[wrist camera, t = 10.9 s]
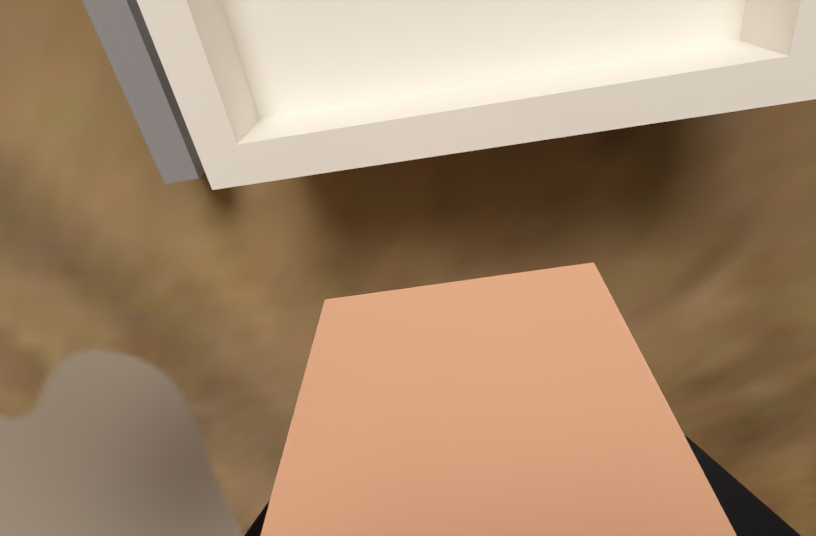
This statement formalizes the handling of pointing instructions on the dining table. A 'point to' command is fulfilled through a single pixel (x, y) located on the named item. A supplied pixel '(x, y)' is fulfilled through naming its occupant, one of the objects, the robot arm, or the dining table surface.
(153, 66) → the track
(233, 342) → the dining table surface
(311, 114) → the cream rimmed tray
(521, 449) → the block
